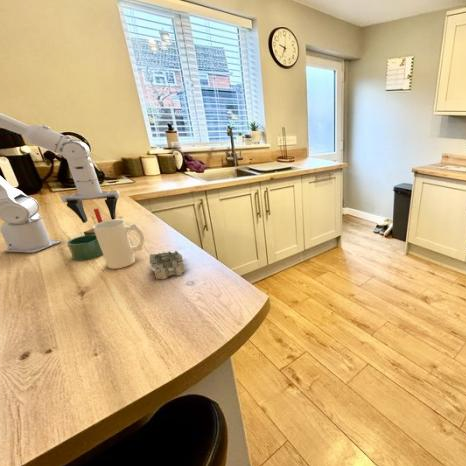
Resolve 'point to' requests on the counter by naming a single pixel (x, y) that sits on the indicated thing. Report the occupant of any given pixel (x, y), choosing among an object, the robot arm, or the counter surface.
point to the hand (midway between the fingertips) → (99, 220)
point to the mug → (117, 242)
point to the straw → (98, 215)
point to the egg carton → (166, 264)
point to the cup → (85, 247)
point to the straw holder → (89, 232)
